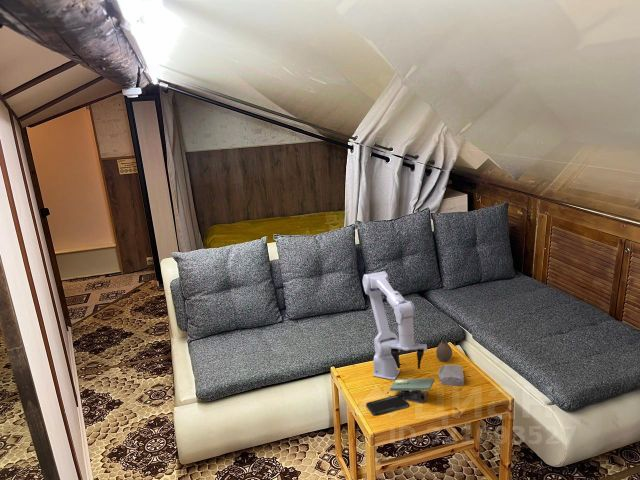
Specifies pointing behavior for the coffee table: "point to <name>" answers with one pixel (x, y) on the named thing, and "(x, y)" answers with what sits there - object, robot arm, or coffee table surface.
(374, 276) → the robot arm
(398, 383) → the plate
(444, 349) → the vase
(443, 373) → the stone block
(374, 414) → the phone
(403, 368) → the coffee table surface
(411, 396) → the tribrach base
